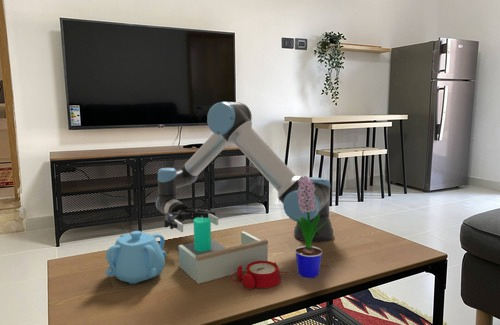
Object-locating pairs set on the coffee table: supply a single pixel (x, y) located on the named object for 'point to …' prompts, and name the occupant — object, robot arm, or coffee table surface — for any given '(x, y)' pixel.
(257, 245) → the white u-shaped frame
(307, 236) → the hyacinth
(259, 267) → the alarm clock
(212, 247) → the slate tile
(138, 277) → the decorative pot
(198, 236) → the candle
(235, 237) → the coffee table surface
